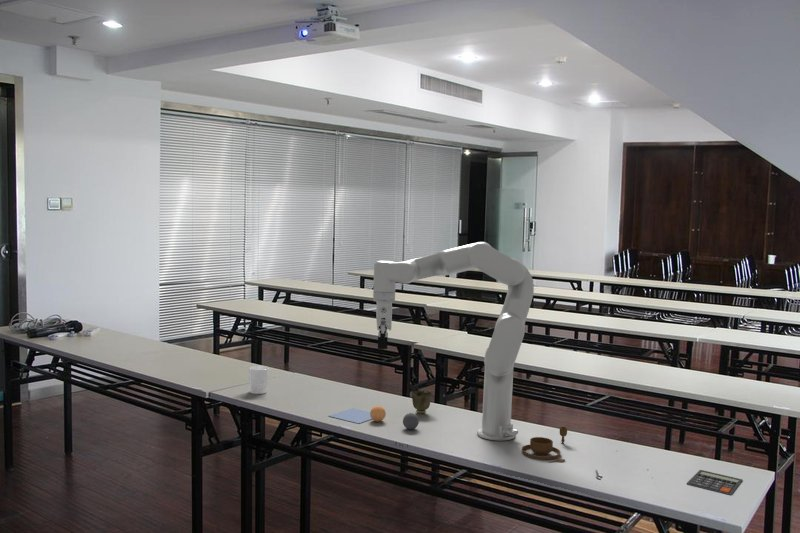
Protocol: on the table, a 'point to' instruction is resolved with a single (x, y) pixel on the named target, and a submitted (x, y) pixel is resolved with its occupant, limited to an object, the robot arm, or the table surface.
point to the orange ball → (377, 413)
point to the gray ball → (410, 421)
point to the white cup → (258, 379)
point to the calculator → (714, 482)
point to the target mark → (353, 415)
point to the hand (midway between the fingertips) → (382, 346)
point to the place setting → (544, 447)
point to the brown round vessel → (421, 401)
